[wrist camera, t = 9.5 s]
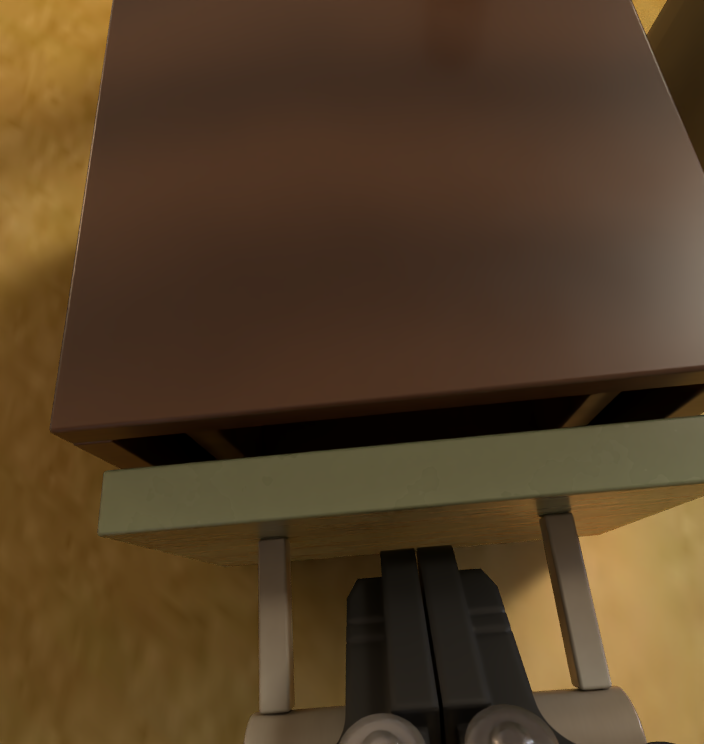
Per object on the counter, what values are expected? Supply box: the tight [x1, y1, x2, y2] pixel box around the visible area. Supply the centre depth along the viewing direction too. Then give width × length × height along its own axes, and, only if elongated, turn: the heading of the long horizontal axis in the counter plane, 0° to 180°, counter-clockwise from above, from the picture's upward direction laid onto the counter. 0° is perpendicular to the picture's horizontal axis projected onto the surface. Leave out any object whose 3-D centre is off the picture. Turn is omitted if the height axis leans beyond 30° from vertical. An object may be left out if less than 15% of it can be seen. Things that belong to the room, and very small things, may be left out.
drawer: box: [97, 391, 704, 744], centre depth 15 cm, size 18×11×8 cm, turn 4°
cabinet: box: [50, 0, 704, 469], centre depth 17 cm, size 15×13×10 cm
